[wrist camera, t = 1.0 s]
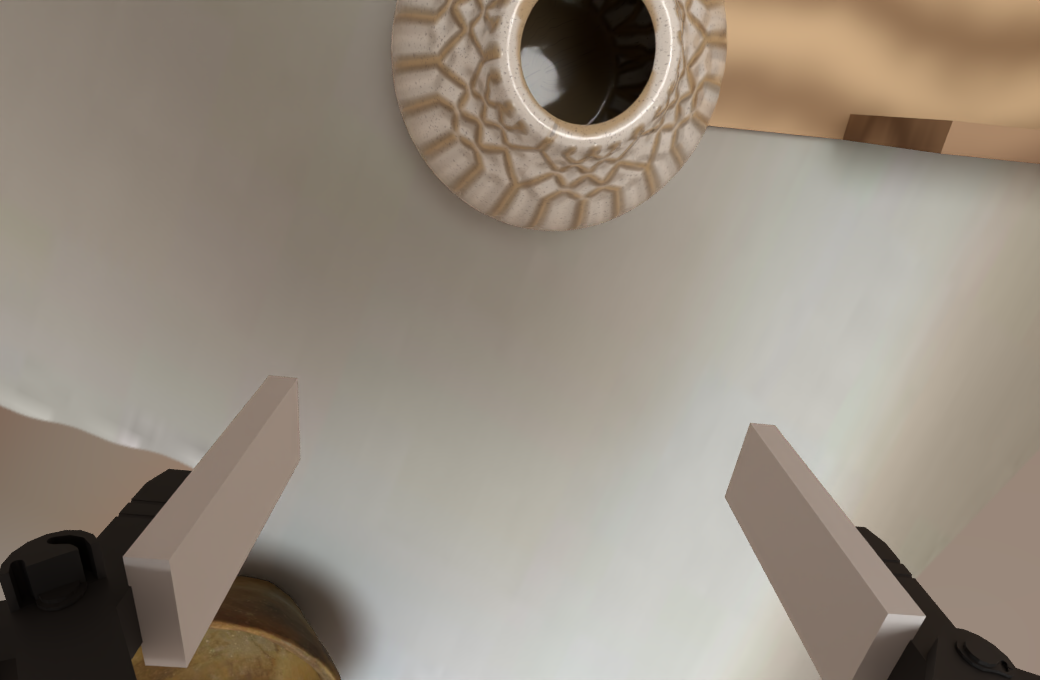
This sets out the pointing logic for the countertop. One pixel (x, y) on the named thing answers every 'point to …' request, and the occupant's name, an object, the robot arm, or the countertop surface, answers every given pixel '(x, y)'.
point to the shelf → (888, 73)
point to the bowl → (252, 641)
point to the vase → (557, 100)
